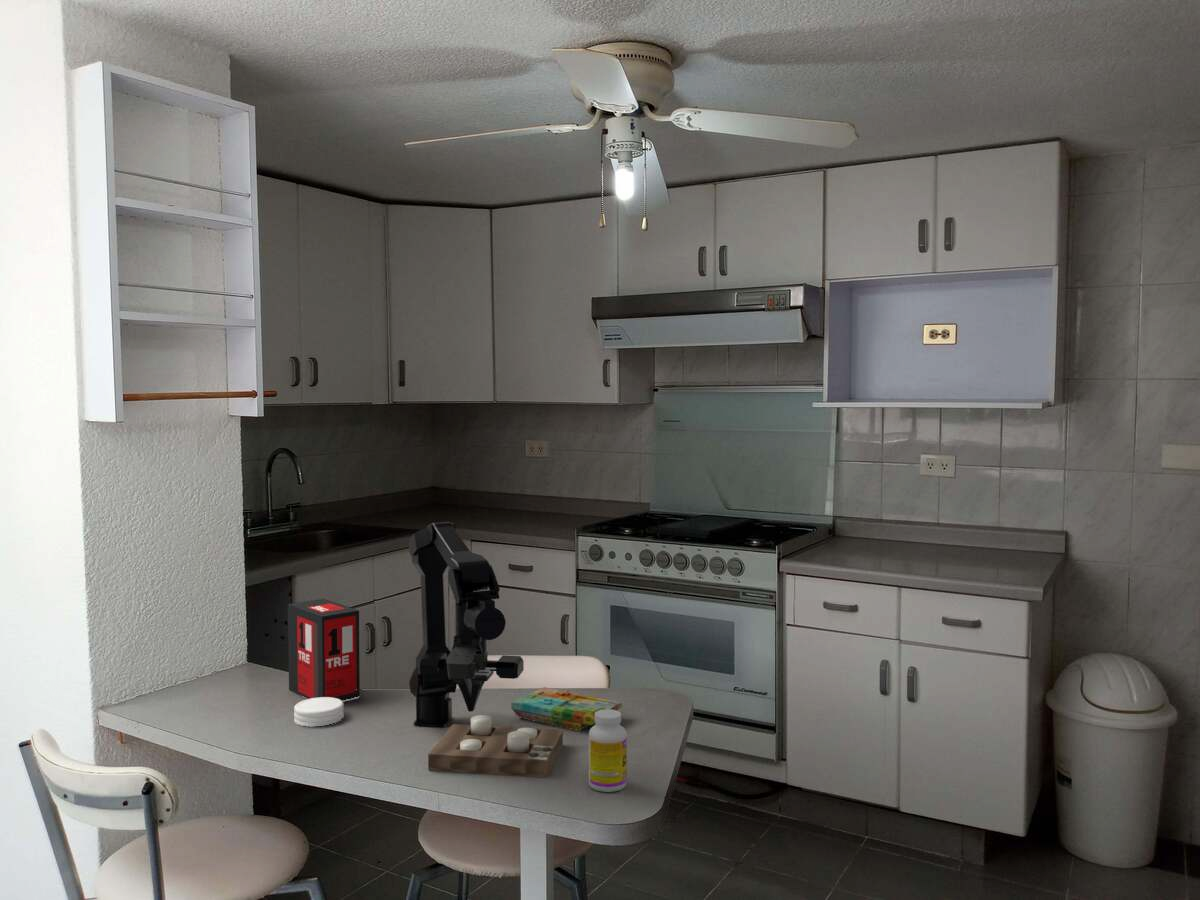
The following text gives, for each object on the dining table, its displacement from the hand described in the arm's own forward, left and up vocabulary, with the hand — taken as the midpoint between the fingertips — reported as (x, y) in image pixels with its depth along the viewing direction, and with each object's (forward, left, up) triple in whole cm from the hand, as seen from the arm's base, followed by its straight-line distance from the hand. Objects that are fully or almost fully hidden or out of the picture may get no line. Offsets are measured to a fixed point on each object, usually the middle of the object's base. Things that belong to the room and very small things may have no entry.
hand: (471, 710), depth 176 cm
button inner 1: (0, +8, -7) cm, 10 cm away
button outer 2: (+9, 0, -7) cm, 11 cm away
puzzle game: (+14, +26, -10) cm, 31 cm away
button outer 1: (0, 0, -9) cm, 9 cm away
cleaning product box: (-44, +34, -10) cm, 56 cm away
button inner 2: (+9, +8, -9) cm, 15 cm away
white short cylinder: (-38, +18, -10) cm, 43 cm away
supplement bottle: (+26, -7, -10) cm, 29 cm away
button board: (+4, +3, -10) cm, 11 cm away
